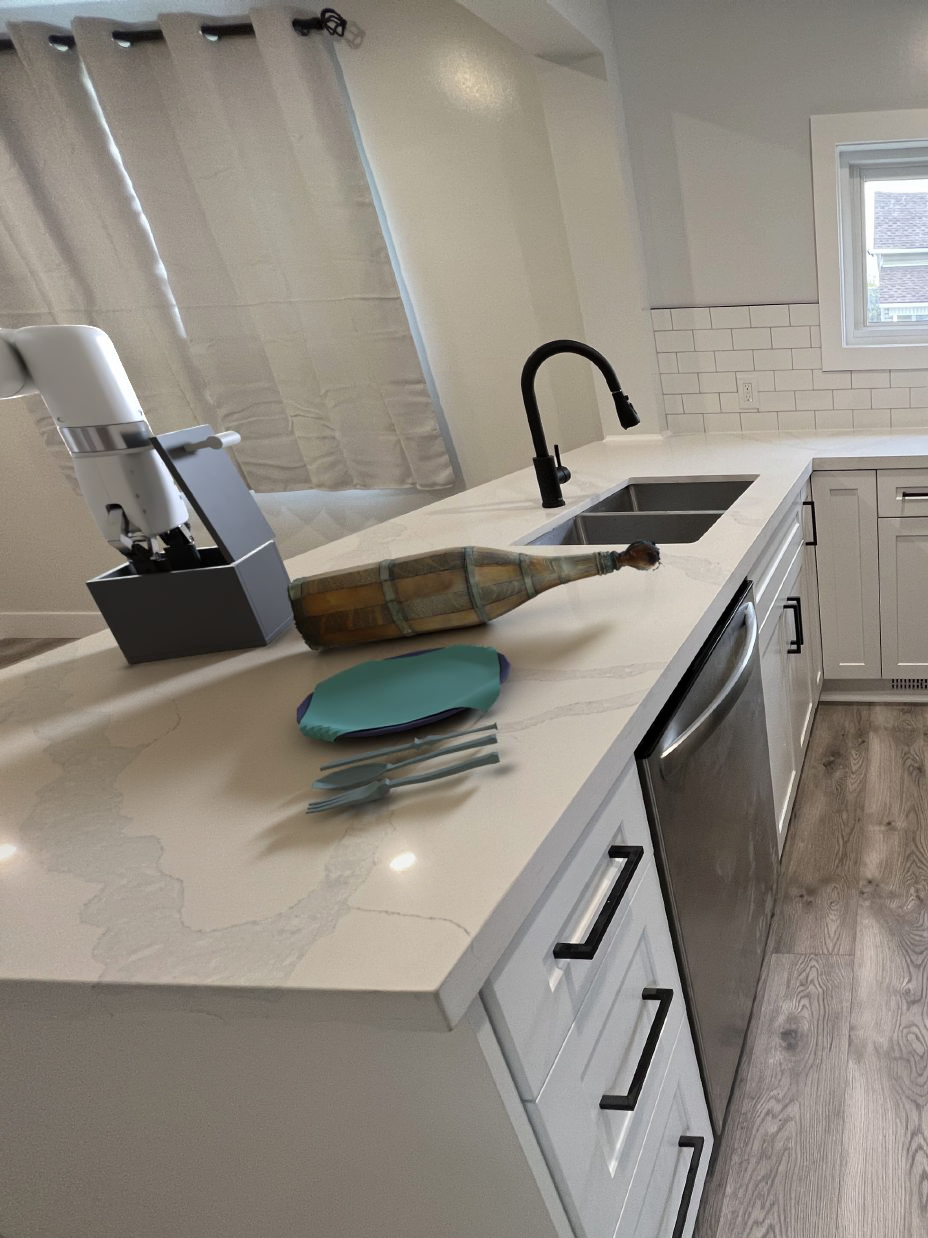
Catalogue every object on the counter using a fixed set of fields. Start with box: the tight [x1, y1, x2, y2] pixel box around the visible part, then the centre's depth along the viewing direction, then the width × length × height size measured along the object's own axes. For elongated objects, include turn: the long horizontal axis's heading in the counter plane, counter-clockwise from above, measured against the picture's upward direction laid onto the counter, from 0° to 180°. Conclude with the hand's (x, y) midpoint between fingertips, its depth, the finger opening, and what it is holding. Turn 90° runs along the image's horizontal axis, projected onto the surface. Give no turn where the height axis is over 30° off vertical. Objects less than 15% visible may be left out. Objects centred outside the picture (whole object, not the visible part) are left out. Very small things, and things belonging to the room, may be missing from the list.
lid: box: [148, 423, 277, 563], centre depth 88 cm, size 15×13×5 cm
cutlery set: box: [296, 643, 512, 815], centre depth 71 cm, size 20×30×2 cm, turn 27°
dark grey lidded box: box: [84, 539, 295, 665], centre depth 91 cm, size 15×13×11 cm
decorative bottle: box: [287, 539, 665, 652], centre depth 94 cm, size 11×11×45 cm
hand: (177, 581), depth 90 cm, fingers open, 6 cm apart
